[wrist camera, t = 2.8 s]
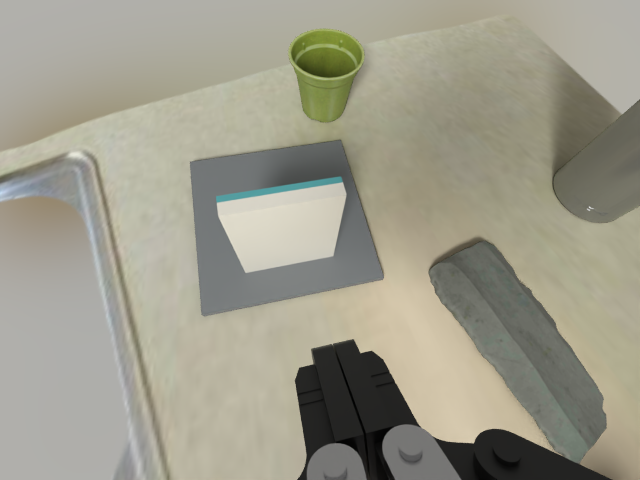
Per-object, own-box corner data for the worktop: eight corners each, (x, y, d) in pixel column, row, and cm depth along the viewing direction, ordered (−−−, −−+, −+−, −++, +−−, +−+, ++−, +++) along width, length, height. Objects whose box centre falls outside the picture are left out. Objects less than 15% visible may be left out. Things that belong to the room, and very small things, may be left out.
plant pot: (280, 95, 49) (275, 39, 41) (335, 77, 52) (341, 20, 44) (308, 140, 46) (309, 88, 38) (366, 118, 48) (379, 65, 40)
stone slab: (477, 243, 42) (419, 275, 39) (491, 232, 40) (429, 265, 36) (615, 414, 35) (558, 473, 31) (641, 414, 33) (582, 478, 29)
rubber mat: (191, 165, 43) (189, 161, 43) (340, 144, 46) (340, 140, 45) (203, 316, 35) (201, 314, 35) (382, 279, 38) (383, 277, 37)
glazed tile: (243, 258, 38) (215, 196, 26) (329, 242, 39) (341, 176, 27) (245, 273, 37) (218, 216, 25) (333, 256, 38) (346, 194, 26)
